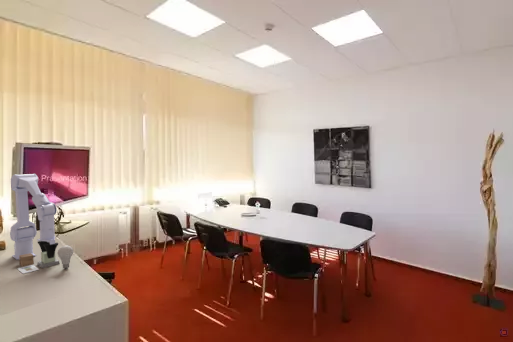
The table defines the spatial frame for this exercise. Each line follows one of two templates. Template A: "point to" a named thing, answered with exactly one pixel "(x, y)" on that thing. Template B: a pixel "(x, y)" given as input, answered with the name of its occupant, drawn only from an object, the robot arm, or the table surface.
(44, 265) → the slab
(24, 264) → the block
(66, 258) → the lightbulb
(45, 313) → the table surface
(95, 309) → the table surface
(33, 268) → the blueprint sheet
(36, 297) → the table surface
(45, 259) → the block
